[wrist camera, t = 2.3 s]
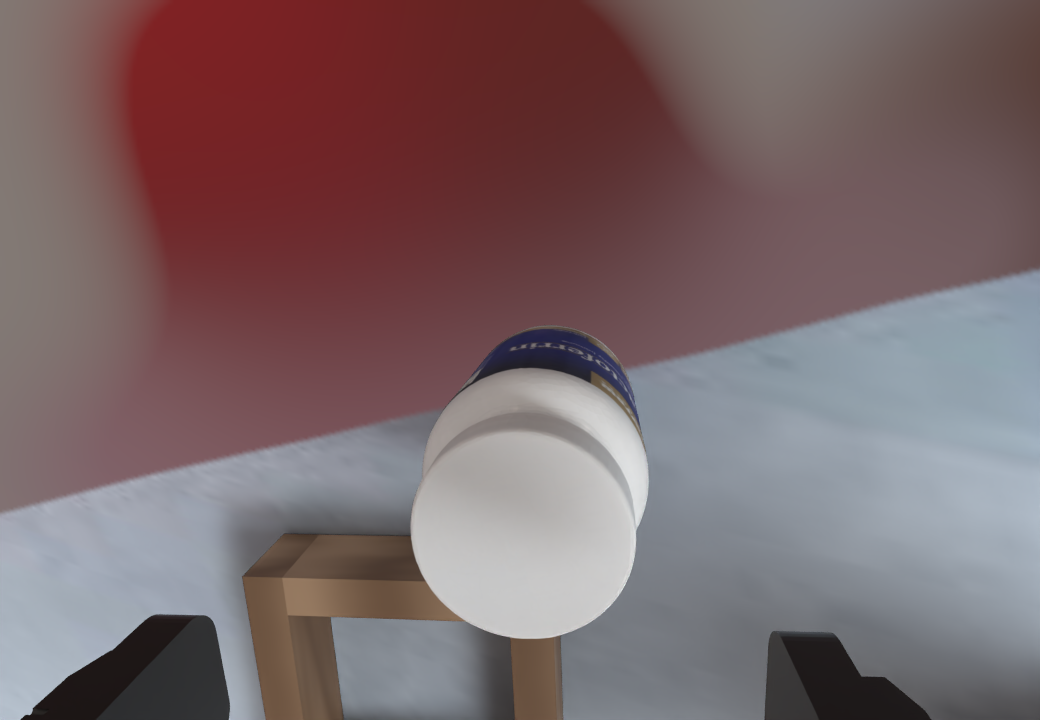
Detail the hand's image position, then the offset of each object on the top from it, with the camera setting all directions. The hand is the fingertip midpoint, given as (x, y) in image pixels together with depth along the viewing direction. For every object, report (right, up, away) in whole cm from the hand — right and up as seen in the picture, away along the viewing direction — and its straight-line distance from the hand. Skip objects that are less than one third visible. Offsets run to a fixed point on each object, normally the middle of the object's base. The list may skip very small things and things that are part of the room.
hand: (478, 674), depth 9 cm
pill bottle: (+2, +3, +13) cm, 14 cm away
